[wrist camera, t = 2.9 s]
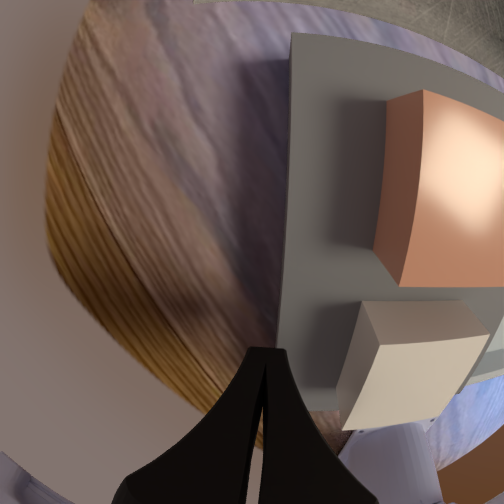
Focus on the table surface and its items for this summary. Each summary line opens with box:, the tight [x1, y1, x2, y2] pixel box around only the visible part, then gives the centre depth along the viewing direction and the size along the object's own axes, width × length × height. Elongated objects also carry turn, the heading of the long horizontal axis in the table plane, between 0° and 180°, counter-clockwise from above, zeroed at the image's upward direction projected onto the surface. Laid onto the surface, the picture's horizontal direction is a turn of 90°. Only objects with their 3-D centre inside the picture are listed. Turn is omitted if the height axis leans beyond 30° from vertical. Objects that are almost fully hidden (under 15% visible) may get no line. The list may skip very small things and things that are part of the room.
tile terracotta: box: [373, 89, 504, 287], centre depth 6 cm, size 5×5×2 cm
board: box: [275, 32, 504, 411], centre depth 10 cm, size 16×12×3 cm
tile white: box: [336, 300, 490, 431], centre depth 9 cm, size 5×5×2 cm
